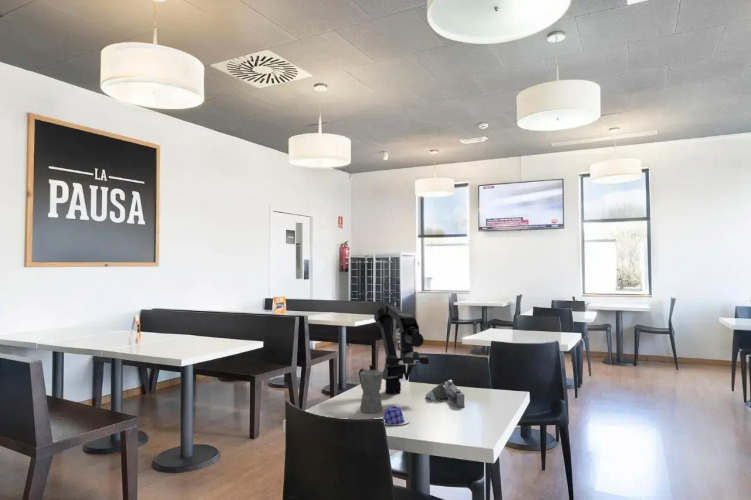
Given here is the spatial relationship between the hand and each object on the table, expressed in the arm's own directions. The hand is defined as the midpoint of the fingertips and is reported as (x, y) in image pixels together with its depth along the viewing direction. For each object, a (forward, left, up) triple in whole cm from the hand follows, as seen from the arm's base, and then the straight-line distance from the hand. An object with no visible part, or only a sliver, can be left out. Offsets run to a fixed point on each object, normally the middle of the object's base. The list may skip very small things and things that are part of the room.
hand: (406, 379), depth 219 cm
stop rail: (+21, -1, -8) cm, 22 cm away
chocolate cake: (+12, +1, -9) cm, 15 cm away
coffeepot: (-17, -16, -9) cm, 25 cm away
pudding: (-9, -32, -9) cm, 34 cm away
